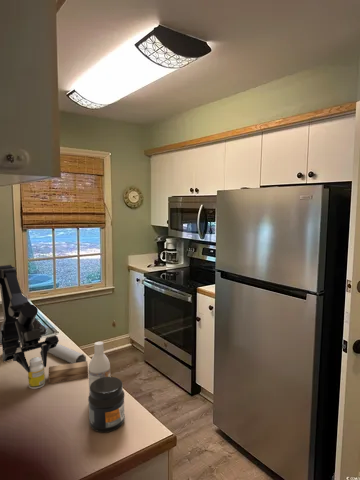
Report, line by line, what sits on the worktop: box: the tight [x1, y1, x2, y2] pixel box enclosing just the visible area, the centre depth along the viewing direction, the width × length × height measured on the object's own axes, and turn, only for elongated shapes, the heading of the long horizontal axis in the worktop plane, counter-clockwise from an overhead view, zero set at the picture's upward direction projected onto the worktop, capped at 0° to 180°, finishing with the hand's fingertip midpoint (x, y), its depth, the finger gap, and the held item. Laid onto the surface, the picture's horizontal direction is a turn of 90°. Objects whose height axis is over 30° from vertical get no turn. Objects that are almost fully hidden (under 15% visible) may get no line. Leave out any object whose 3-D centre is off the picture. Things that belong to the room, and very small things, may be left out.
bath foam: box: [88, 341, 111, 396], centre depth 110 cm, size 7×7×20 cm
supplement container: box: [87, 376, 126, 433], centre depth 99 cm, size 10×10×12 cm
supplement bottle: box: [27, 356, 46, 390], centre depth 120 cm, size 5×5×10 cm
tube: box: [47, 342, 87, 364], centre depth 142 cm, size 5×5×25 cm
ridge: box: [48, 360, 89, 384], centre depth 126 cm, size 14×6×4 cm, turn 108°
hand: (37, 369), depth 118 cm, fingers closed on supplement bottle, 5 cm apart
